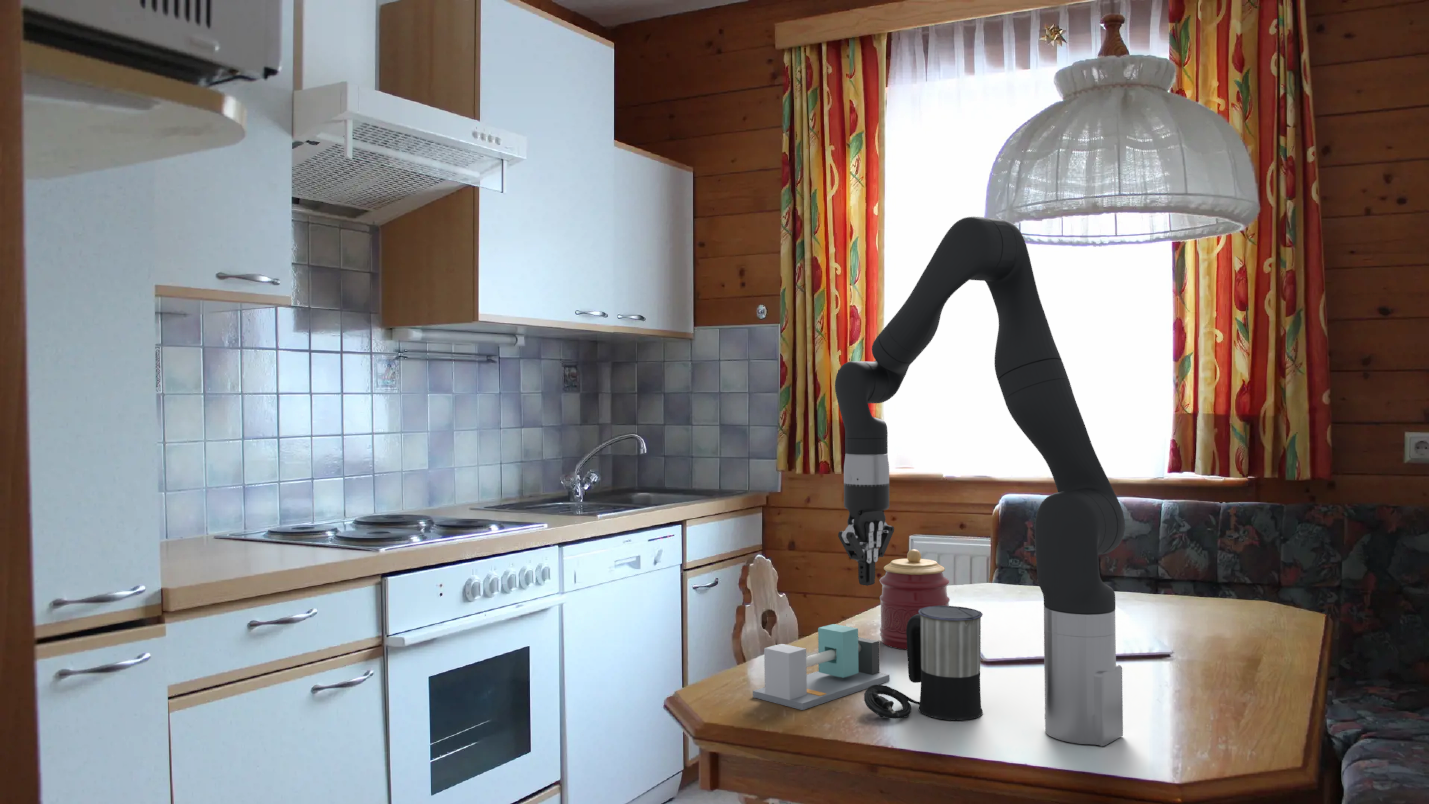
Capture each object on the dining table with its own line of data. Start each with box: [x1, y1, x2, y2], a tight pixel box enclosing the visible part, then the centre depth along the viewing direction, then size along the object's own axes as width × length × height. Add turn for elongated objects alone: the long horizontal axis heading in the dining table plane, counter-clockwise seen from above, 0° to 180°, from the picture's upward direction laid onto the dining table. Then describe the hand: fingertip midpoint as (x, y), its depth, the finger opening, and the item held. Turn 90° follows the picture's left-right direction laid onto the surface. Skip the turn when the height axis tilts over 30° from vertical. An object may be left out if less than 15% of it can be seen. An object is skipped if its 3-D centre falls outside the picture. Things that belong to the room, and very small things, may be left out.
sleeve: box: [817, 623, 859, 678], centre depth 169 cm, size 5×4×7 cm
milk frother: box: [863, 605, 984, 721], centre depth 153 cm, size 14×16×15 cm
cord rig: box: [752, 636, 891, 711], centre depth 166 cm, size 10×22×8 cm, turn 135°
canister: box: [879, 548, 951, 650], centre depth 197 cm, size 13×13×18 cm
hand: (866, 584), depth 175 cm, fingers closed
